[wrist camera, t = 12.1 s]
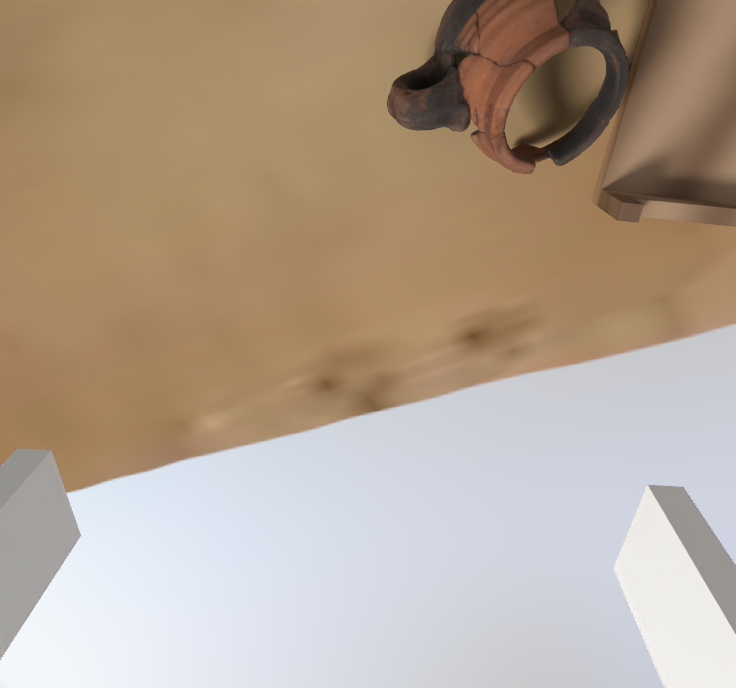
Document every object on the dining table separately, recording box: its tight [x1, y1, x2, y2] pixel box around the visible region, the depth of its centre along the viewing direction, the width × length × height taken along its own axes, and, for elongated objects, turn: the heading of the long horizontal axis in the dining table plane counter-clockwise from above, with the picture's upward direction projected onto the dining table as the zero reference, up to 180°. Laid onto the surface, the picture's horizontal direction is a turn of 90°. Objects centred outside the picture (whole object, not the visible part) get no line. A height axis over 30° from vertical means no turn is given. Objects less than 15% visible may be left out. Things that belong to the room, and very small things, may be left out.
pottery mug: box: [387, 0, 629, 174], centre depth 28 cm, size 12×9×8 cm
